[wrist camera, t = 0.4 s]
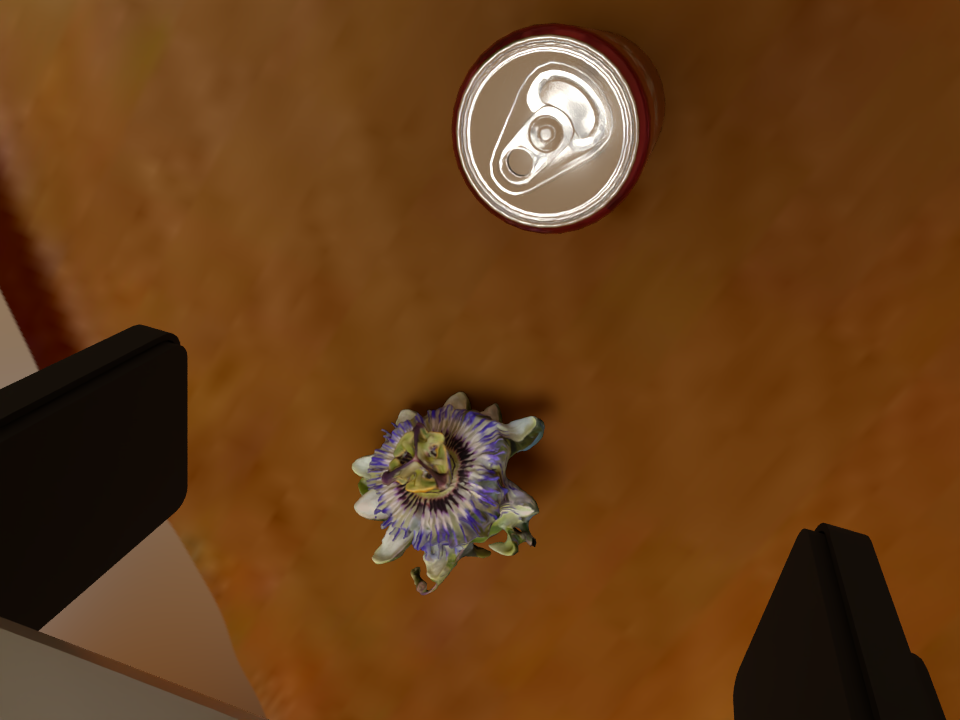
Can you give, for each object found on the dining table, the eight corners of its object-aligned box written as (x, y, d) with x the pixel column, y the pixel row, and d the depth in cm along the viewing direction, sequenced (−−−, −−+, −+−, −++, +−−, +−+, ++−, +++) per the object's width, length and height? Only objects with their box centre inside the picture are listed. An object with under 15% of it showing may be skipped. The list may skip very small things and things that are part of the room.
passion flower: (484, 370, 50) (537, 374, 38) (539, 517, 51) (607, 565, 39) (326, 433, 47) (329, 458, 36) (386, 586, 48) (409, 659, 37)
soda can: (599, -5, 34) (554, -29, 24) (697, 115, 35) (695, 145, 25) (490, 105, 38) (406, 127, 27) (581, 213, 38) (535, 276, 28)
